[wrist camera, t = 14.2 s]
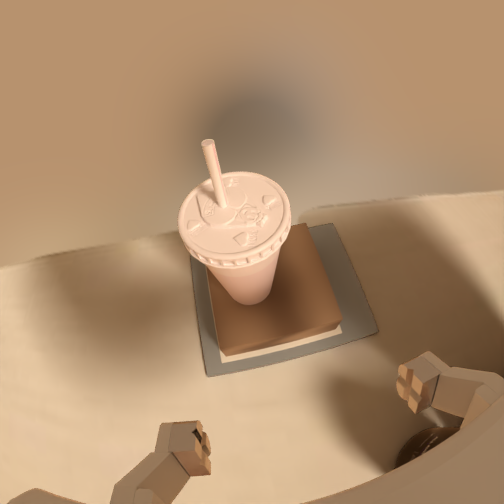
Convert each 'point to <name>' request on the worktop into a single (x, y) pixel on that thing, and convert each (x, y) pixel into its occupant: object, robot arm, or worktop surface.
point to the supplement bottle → (424, 443)
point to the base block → (279, 302)
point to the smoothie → (236, 228)
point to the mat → (350, 329)
